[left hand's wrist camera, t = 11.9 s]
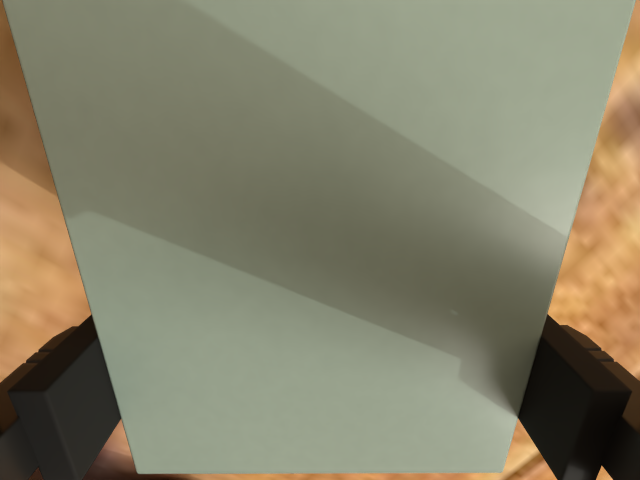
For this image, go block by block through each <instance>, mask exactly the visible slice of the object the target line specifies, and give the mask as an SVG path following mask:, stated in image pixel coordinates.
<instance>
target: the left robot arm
mask: <svg viewBox="0 0 640 480" xmlns="http://www.w3.org/2000/svg"><path fill="white" fill-rule="evenodd" d="M120 419H121V416H120V412H119V409H118V405H117V402H116V398H115V395H114V391H113V388H112V384H111V381H110V377H109V374H108V370H107V367H106V363H105V360H104V356H103V353H102V349H101V346H100V342H99V338H98V335H97V331H96V328H95V324H94V321H93V317H92V315H91V316H89V317H88V318H87V319H86V320H85V321H84V322H83V323H82V324H81V325H79V326H73V327H71V328H69V329H67V330H65V331H64V332H62V333H60V334H58V335H56V336H55V337H53V338H52V339H51V340H49V341H48V342H47V343H46V344H45V345H44V346H43V347H41V348H40V349H39V351H38V352H36V353H34V354H33V355H32V356H31V357H30V358H29V359H27V360H26V363H23V364H22V365H20V366H19V367H18V368H17V369H16V370H15V371H14V372H12V373H11V374H10V375H9V376H8V377H7V378H5V379H4V380H3V381H2V382H1V383H0V480H28V479H29V478H30V476H31V475H32V474H33V473H34V471H35V470H36V469H37V467H39V470H40V472H41V474H42V477H43V479H44V480H82V479H83V477H84V476H85V474H86V473H87V471H88V470H89V468H90V466H91V465H92V463H93V462H94V460H95V459H96V457H97V456H98V454H99V452H100V451H101V449H102V448H103V446H104V445H105V443H106V441H107V440H108V438H109V437H110V435H111V434H112V432H113V430H114V429H115V427H116V426H117V424H118V423H119V421H120ZM518 419H519V420H520V422H521V423H522V425H523V426H524V428H525V430H526V431H527V433H528V434H529V436H530V437H531V439H532V440H533V442H534V444H535V445H536V447H537V448H538V450H539V451H540V453H541V455H542V456H543V458H544V459H545V461H546V462H547V464H548V466H549V467H550V469H551V470H552V472H553V473H554V475H555V477H556V478H557V480H596V478H597V475H598V473H599V471H600V468H601V466H603V467H604V469H605V470H606V471H607V472H608V474H609V475H610V476H611V477H612V479H613V480H640V381H639V380H637V379H636V378H635V377H634V376H633V375H632V374H630V373H629V372H628V371H627V370H626V369H625V368H623V367H622V366H621V365H620V364H619V363H618V362H614V359H613V358H612V357H611V356H609V355H608V354H607V353H606V352H605V351H602V350H601V348H600V347H599V346H598V345H597V344H595V343H594V342H593V341H592V340H591V339H590V338H588V337H587V336H586V335H584V334H582V333H580V332H579V331H577V330H575V329H573V328H571V327H569V326H568V325H559V324H558V323H557V322H556V321H555V320H553V319H552V318H551V317H550V316H549V315H548V314H547V317H546V320H545V324H544V327H543V331H542V334H541V338H540V342H539V345H538V349H537V352H536V356H535V359H534V363H533V366H532V370H531V373H530V377H529V380H528V384H527V388H526V391H525V395H524V398H523V402H522V405H521V409H520V412H519V416H518Z"/></svg>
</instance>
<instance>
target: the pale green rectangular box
mask: <svg viewBox="0 0 640 480" xmlns="http://www.w3.org/2000/svg"><path fill="white" fill-rule="evenodd" d="M2 1H3V5H4V8H5V12H6V16H7V19H8V23H9V26H10V30H11V33H12V37H13V40H14V44H15V47H16V51H17V54H18V58H19V61H20V65H21V68H22V72H23V75H24V79H25V82H26V86H27V89H28V93H29V96H30V100H31V103H32V107H33V110H34V114H35V117H36V121H37V124H38V128H39V131H40V135H41V138H42V142H43V145H44V149H45V152H46V156H47V159H48V163H49V166H50V170H51V173H52V177H53V181H54V184H55V188H56V191H57V195H58V198H59V202H60V205H61V209H62V212H63V216H64V219H65V223H66V226H67V230H68V233H69V237H70V240H71V244H72V247H73V251H74V254H75V258H76V261H77V265H78V268H79V272H80V275H81V279H82V282H83V286H84V289H85V293H86V296H87V300H88V303H89V307H90V310H91V314H92V317H93V321H94V324H95V328H96V331H97V335H98V338H99V342H100V346H101V349H102V353H103V356H104V360H105V363H106V367H107V370H108V374H109V377H110V381H111V384H112V388H113V391H114V395H115V398H116V402H117V405H118V409H119V412H120V416H121V419H122V423H123V426H124V430H125V433H126V437H127V440H128V444H129V447H130V451H131V454H132V458H133V461H134V465H135V468H136V472H137V473H138V474H252V473H501V472H503V469H504V466H505V462H506V458H507V455H508V451H509V448H510V444H511V441H512V437H513V434H514V430H515V427H516V423H517V419H518V416H519V412H520V409H521V405H522V402H523V398H524V395H525V391H526V388H527V384H528V380H529V377H530V373H531V370H532V366H533V363H534V359H535V356H536V352H537V349H538V345H539V342H540V338H541V334H542V331H543V327H544V324H545V320H546V317H547V313H548V310H549V306H550V303H551V299H552V295H553V292H554V288H555V285H556V281H557V278H558V274H559V271H560V267H561V264H562V260H563V256H564V253H565V249H566V246H567V242H568V239H569V235H570V232H571V228H572V225H573V221H574V218H575V214H576V210H577V207H578V203H579V200H580V196H581V193H582V189H583V186H584V182H585V179H586V175H587V171H588V168H589V164H590V161H591V157H592V154H593V150H594V147H595V143H596V140H597V136H598V132H599V129H600V125H601V122H602V118H603V115H604V111H605V108H606V104H607V101H608V97H609V94H610V90H611V86H612V83H613V79H614V76H615V72H616V69H617V65H618V62H619V58H620V55H621V51H622V47H623V44H624V40H625V37H626V33H627V30H628V26H629V23H630V19H631V16H632V12H633V9H634V5H635V1H636V0H2Z"/></svg>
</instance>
